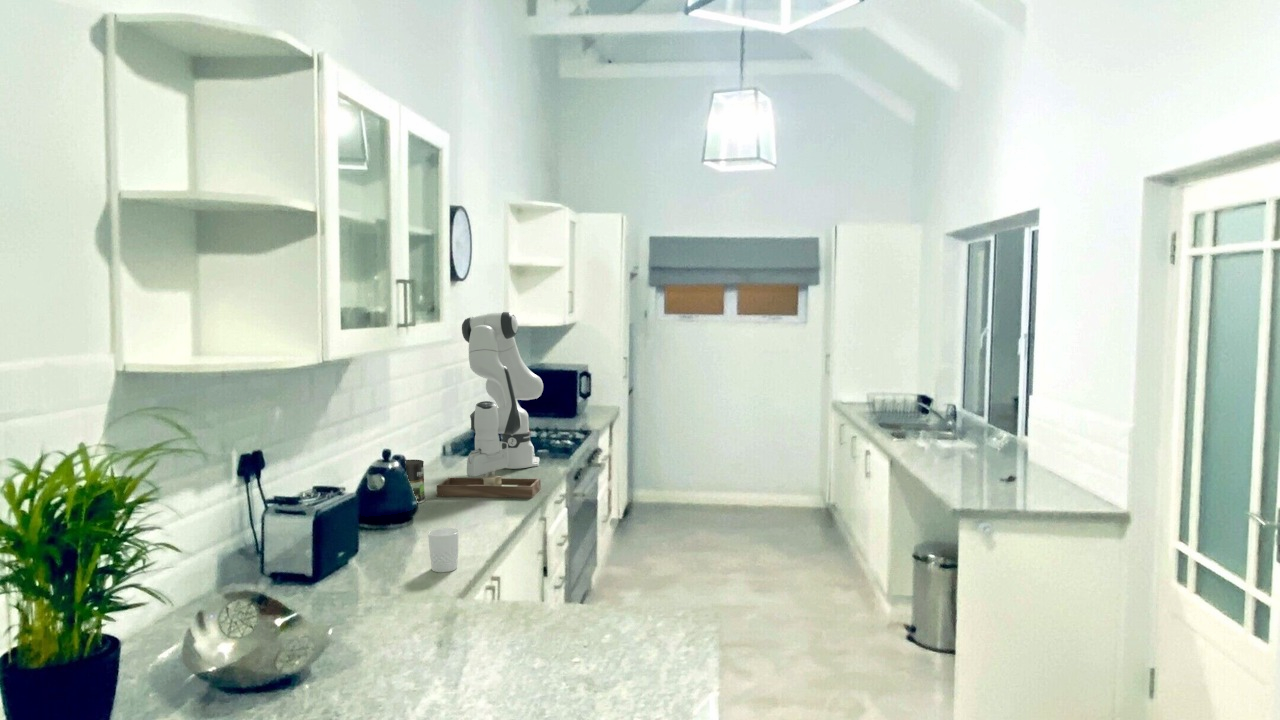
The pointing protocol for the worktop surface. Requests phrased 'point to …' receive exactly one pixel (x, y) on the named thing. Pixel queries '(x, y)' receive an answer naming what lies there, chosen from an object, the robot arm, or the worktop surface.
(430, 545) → the white cup
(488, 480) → the birch block
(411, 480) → the coffee can
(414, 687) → the worktop surface
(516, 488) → the track
